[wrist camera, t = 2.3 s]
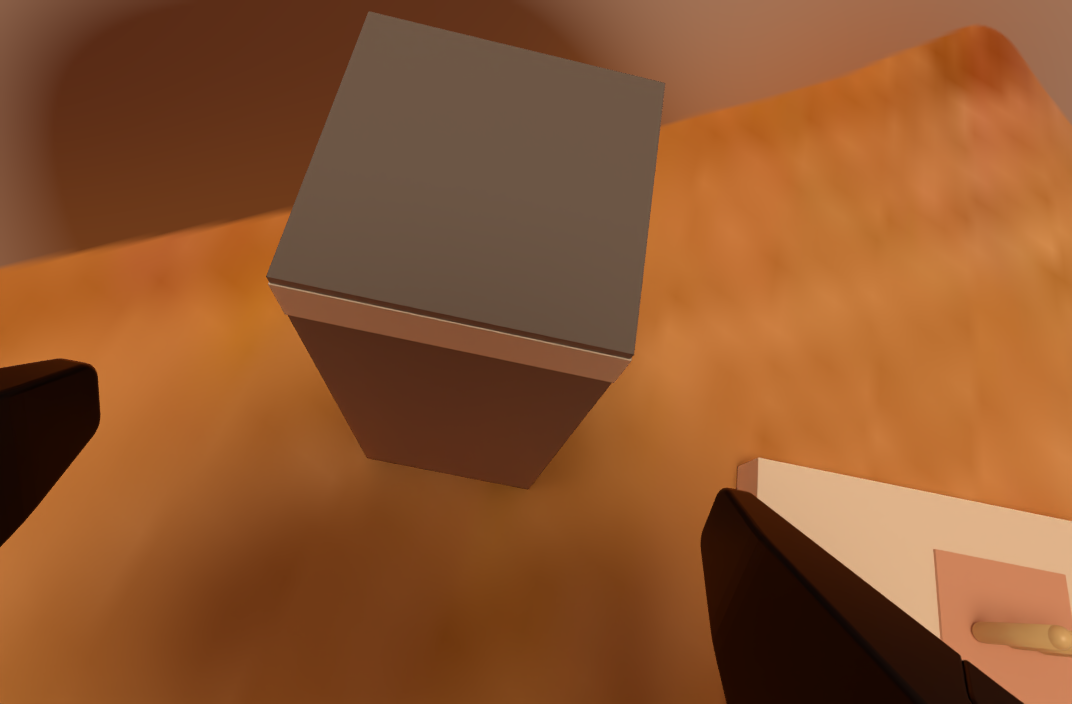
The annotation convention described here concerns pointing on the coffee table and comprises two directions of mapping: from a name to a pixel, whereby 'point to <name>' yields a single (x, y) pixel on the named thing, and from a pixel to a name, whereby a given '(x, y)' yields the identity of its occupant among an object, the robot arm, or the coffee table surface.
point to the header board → (945, 567)
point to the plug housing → (471, 247)
